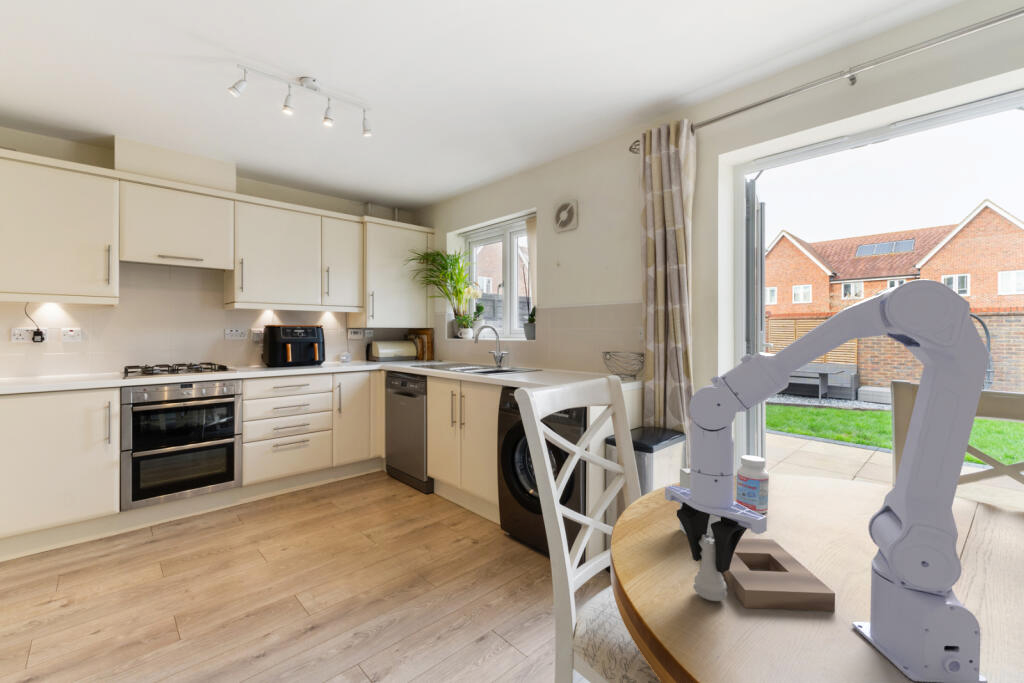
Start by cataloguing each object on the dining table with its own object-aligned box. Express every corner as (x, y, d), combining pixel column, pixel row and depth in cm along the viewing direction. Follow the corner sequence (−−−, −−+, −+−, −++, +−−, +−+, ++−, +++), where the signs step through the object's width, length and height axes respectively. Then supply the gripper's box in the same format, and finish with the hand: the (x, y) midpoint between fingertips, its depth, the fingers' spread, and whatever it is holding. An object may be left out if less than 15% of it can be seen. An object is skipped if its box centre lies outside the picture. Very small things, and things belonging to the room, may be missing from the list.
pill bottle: (730, 506, 98) (730, 455, 97) (748, 502, 100) (749, 453, 100) (755, 516, 92) (756, 463, 92) (774, 512, 95) (775, 460, 94)
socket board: (834, 611, 61) (835, 593, 60) (744, 607, 61) (745, 589, 61) (772, 553, 76) (772, 539, 76) (701, 551, 77) (702, 537, 77)
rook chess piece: (731, 604, 61) (732, 546, 61) (697, 600, 62) (698, 543, 61) (722, 586, 65) (723, 532, 65) (690, 583, 66) (691, 529, 66)
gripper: (779, 479, 59) (778, 579, 59) (685, 454, 71) (684, 537, 72) (750, 488, 55) (749, 596, 56) (656, 460, 68) (655, 549, 68)
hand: (710, 564), depth 63 cm, fingers closed on rook chess piece, 3 cm apart
